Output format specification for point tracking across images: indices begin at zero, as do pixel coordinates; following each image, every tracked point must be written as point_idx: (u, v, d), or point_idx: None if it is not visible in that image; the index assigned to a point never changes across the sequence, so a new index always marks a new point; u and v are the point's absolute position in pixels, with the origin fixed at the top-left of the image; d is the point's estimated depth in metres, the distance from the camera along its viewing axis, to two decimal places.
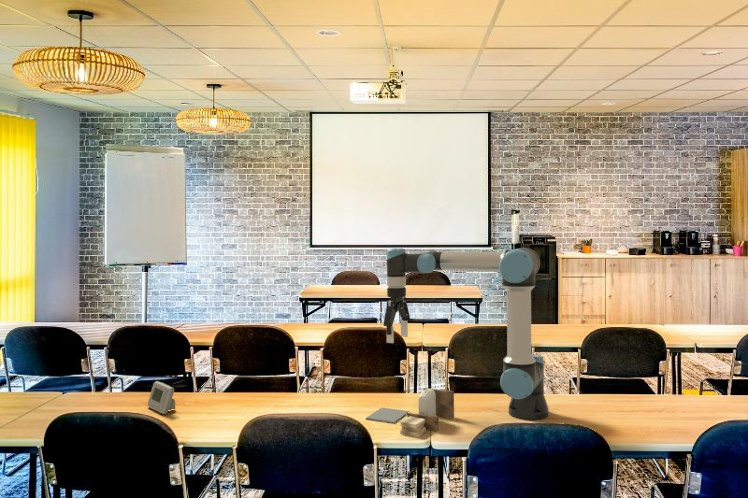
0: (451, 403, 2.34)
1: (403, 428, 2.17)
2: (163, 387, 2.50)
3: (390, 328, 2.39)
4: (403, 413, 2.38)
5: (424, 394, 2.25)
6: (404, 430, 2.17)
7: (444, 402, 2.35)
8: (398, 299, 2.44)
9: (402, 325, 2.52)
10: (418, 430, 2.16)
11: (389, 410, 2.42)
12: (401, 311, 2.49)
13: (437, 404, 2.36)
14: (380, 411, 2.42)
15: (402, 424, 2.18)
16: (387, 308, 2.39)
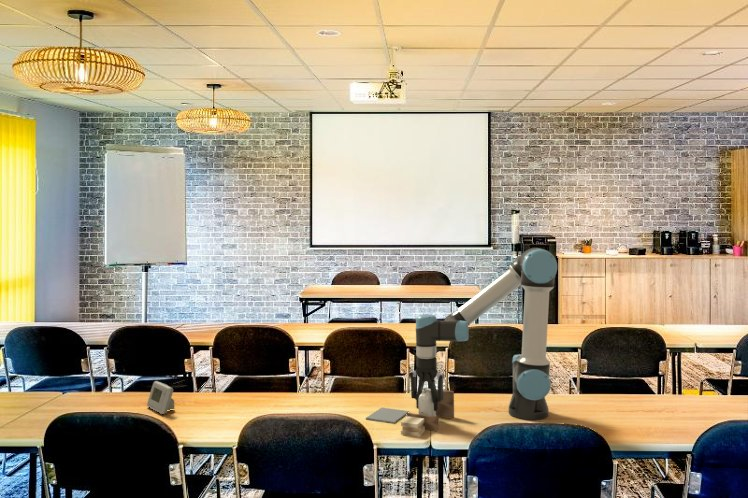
0: (451, 403, 2.34)
1: (404, 428, 2.17)
2: (162, 387, 2.50)
3: (417, 402, 2.30)
4: (403, 413, 2.38)
5: (424, 394, 2.25)
6: (405, 430, 2.17)
7: (444, 402, 2.35)
8: (423, 370, 2.28)
9: None
10: (419, 430, 2.16)
11: (389, 410, 2.42)
12: None
13: None
14: (380, 411, 2.42)
15: (403, 424, 2.17)
16: None
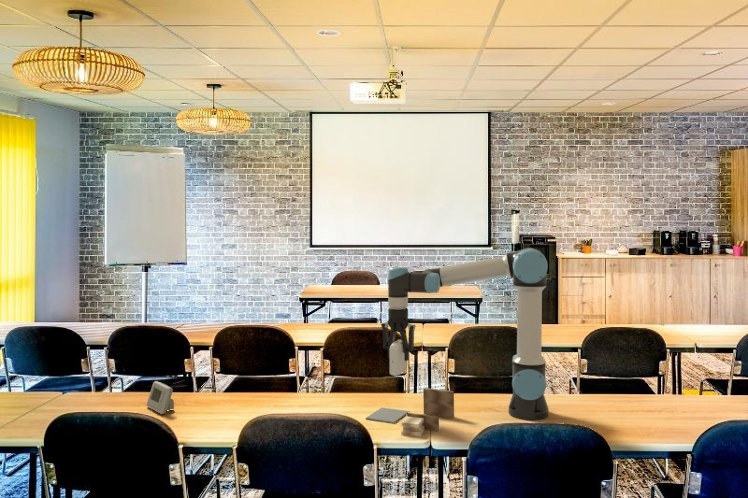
0: (451, 403, 2.34)
1: (405, 429, 2.17)
2: (162, 387, 2.50)
3: None
4: (403, 413, 2.38)
5: (395, 344, 2.30)
6: (406, 431, 2.17)
7: (444, 402, 2.35)
8: (395, 320, 2.33)
9: None
10: (420, 429, 2.16)
11: (389, 410, 2.42)
12: None
13: (437, 404, 2.36)
14: (380, 411, 2.42)
15: (403, 425, 2.17)
16: None
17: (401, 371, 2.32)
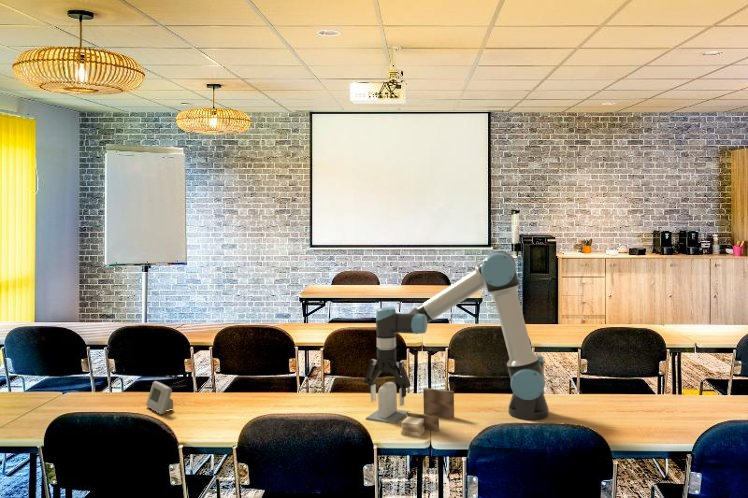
0: (451, 403, 2.34)
1: (404, 428, 2.17)
2: (161, 387, 2.49)
3: (370, 386, 2.40)
4: (403, 413, 2.38)
5: (383, 387, 2.34)
6: (405, 430, 2.17)
7: (444, 402, 2.35)
8: (383, 360, 2.36)
9: None
10: (419, 430, 2.16)
11: None
12: None
13: (437, 404, 2.36)
14: None
15: (403, 425, 2.17)
16: None
17: (390, 413, 2.35)
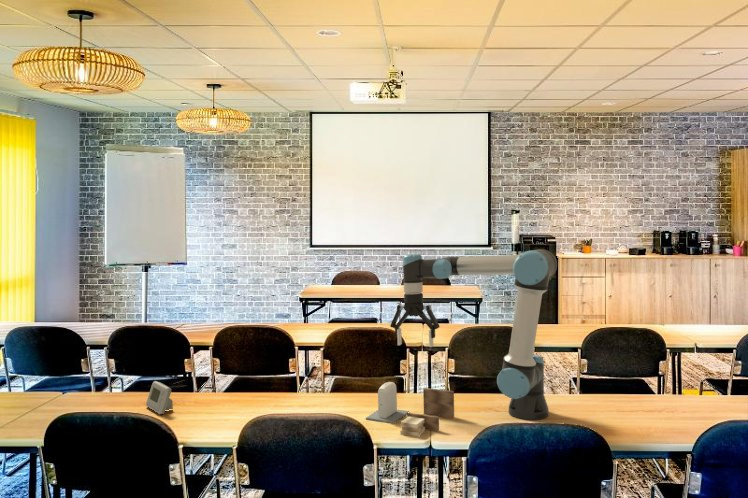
0: (451, 403, 2.34)
1: (403, 428, 2.17)
2: (161, 387, 2.49)
3: (396, 330, 2.48)
4: (403, 413, 2.38)
5: (383, 387, 2.34)
6: (404, 430, 2.17)
7: (444, 402, 2.35)
8: (411, 305, 2.45)
9: None
10: (419, 430, 2.16)
11: None
12: None
13: (437, 404, 2.36)
14: None
15: (402, 424, 2.18)
16: None
17: (390, 413, 2.35)
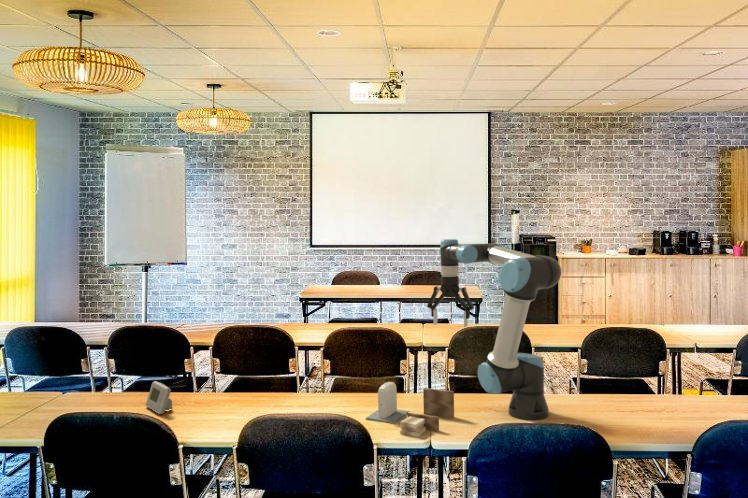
0: (451, 403, 2.34)
1: (403, 428, 2.17)
2: (160, 387, 2.49)
3: (432, 311, 2.63)
4: (403, 413, 2.38)
5: (383, 387, 2.34)
6: (404, 430, 2.17)
7: (444, 402, 2.35)
8: (447, 287, 2.59)
9: None
10: (418, 430, 2.16)
11: None
12: None
13: (437, 404, 2.36)
14: None
15: (402, 424, 2.18)
16: None
17: (390, 413, 2.35)
